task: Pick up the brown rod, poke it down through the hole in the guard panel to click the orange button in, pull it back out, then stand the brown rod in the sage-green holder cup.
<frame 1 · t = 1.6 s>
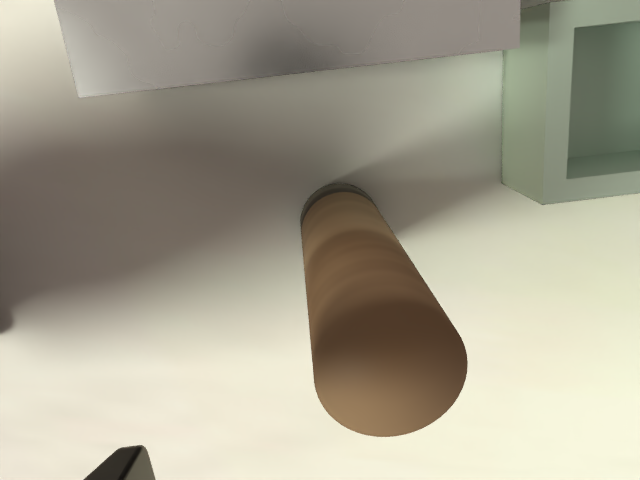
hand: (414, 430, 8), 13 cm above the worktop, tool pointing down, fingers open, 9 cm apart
holder cup: (582, 93, 20), on the worktop
brown rod: (339, 221, 21), on the worktop
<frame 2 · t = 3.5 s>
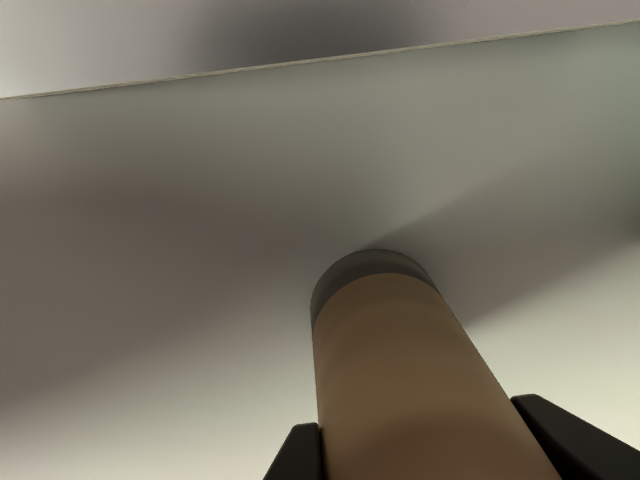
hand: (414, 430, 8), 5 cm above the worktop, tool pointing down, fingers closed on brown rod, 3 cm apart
brown rod: (373, 309, 13), on the worktop, touching gripper
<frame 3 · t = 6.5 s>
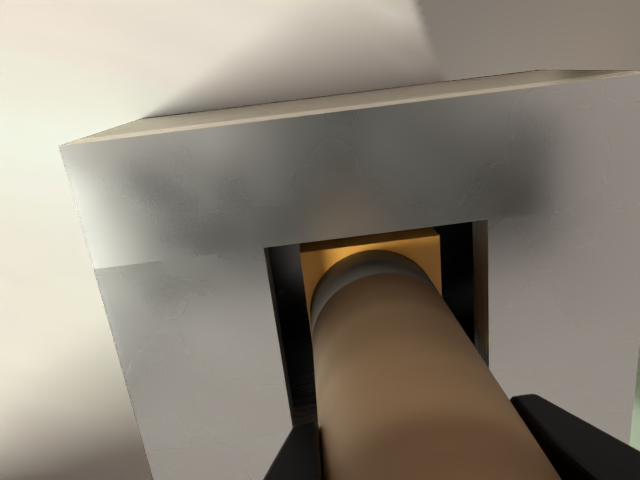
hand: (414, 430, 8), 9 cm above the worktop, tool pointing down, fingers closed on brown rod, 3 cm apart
button: (365, 279, 14), point 2 cm above the worktop, slide at 1.8 cm, touching brown rod
brown rod: (373, 309, 13), point 4 cm above the worktop, touching button, gripper
guard panel: (355, 250, 17), on the worktop
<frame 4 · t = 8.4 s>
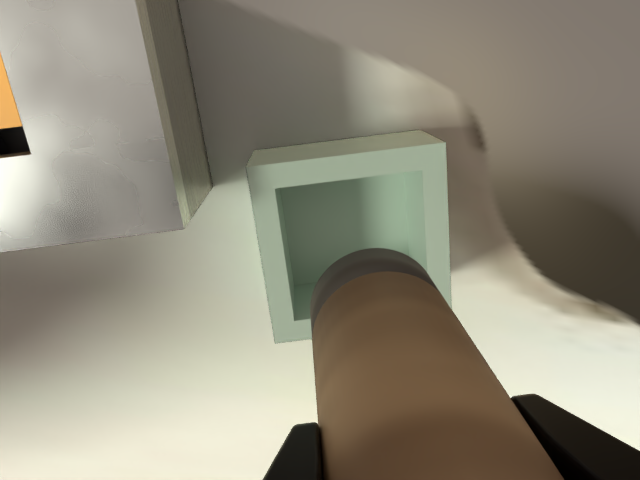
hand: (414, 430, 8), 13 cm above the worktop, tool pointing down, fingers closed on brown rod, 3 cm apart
holder cup: (345, 219, 20), on the worktop
brown rod: (373, 307, 13), point 8 cm above the worktop, touching gripper
guard panel: (19, 71, 18), on the worktop
when the fingers open (6 cm above the worktop, at t = 9.7 s): brown rod drops 1 cm, resting on holder cup.
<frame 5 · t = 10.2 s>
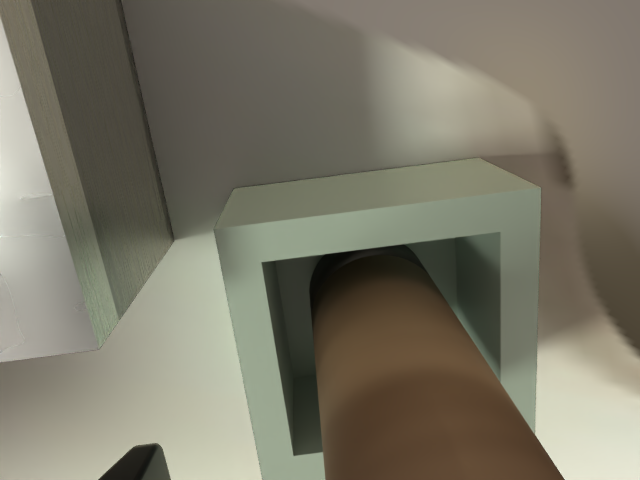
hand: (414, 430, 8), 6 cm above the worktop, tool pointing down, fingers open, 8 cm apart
holder cup: (367, 285, 14), on the worktop
brown rod: (368, 290, 14), resting on holder cup
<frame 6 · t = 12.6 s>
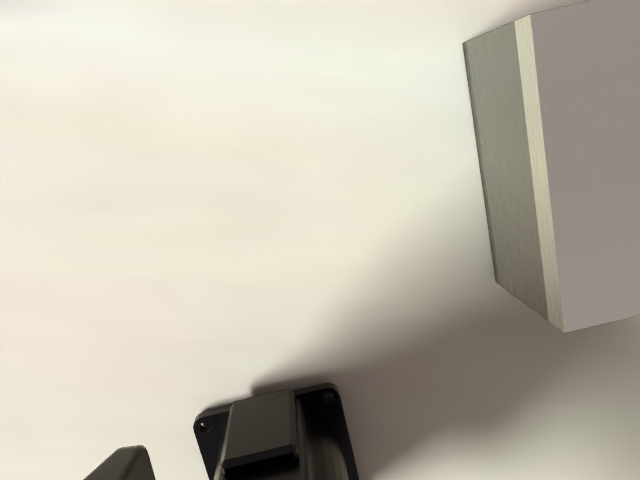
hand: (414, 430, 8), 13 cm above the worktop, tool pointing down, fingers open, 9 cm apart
guard panel: (619, 137, 21), on the worktop
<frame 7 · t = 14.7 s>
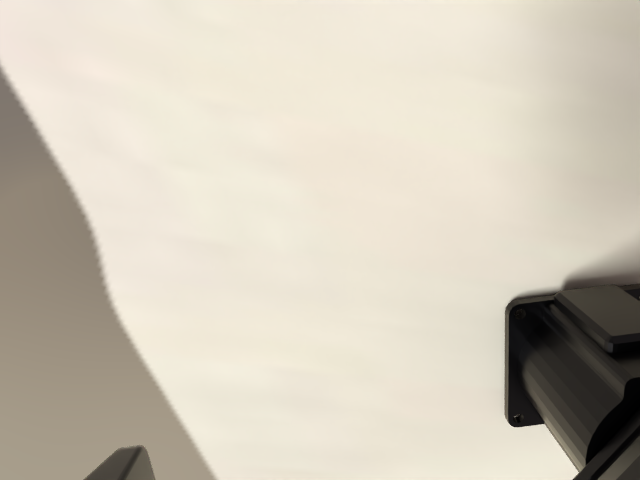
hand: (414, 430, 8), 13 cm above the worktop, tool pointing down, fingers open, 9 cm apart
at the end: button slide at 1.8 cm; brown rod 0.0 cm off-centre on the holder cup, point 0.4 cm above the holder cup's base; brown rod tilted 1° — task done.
